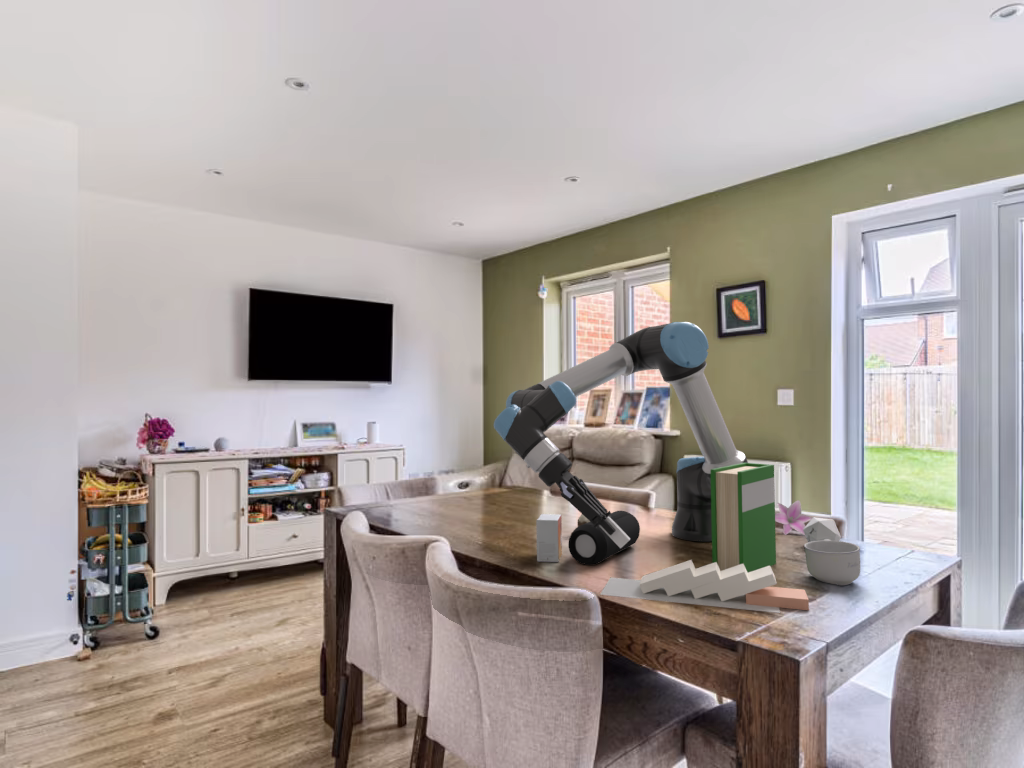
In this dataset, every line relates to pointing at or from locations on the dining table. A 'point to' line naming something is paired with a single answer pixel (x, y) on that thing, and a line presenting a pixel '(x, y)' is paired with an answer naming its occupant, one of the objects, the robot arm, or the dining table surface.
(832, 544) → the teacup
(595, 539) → the portable speaker
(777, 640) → the dining table surface
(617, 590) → the mat
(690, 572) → the domino
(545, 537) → the small box
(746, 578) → the domino
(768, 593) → the domino
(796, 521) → the lily
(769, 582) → the domino
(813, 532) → the die
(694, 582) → the domino
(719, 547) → the hardback book
